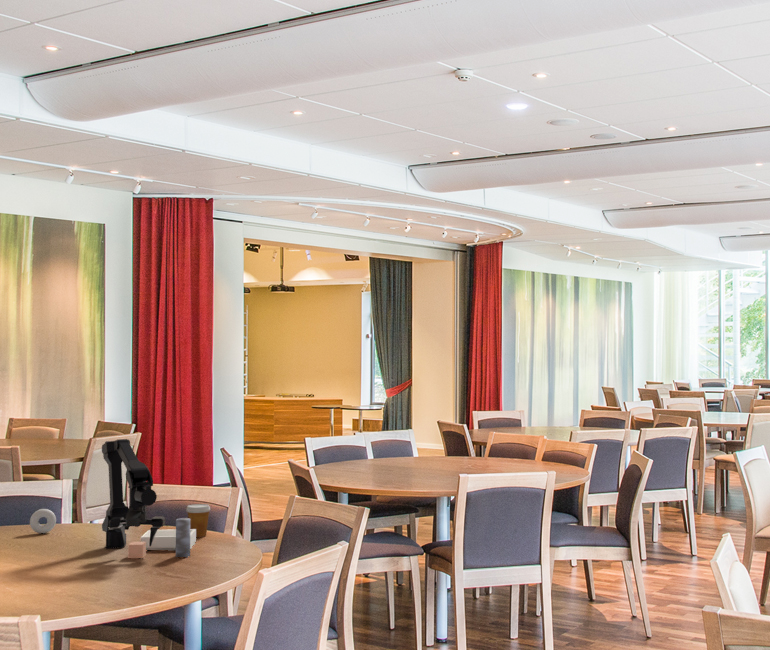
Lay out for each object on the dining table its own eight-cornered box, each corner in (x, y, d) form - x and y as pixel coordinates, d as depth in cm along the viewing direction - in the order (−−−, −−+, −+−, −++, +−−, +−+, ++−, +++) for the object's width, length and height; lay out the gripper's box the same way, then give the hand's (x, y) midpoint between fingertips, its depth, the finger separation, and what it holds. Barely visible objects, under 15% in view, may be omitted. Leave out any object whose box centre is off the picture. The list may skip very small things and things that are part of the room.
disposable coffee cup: (213, 533, 340) (213, 503, 341) (206, 538, 331) (206, 507, 331) (190, 533, 341) (190, 503, 342) (182, 538, 332) (182, 507, 332)
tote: (140, 551, 309) (140, 537, 309) (148, 543, 323) (148, 529, 323) (190, 550, 310) (190, 536, 310) (196, 542, 324) (196, 529, 324)
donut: (29, 535, 339) (29, 510, 339) (29, 533, 342) (29, 508, 343) (56, 533, 343) (56, 508, 343) (55, 531, 346) (56, 507, 346)
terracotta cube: (128, 559, 296) (128, 544, 297) (131, 555, 301) (131, 541, 302) (142, 558, 297) (142, 544, 297) (145, 555, 302) (145, 541, 302)
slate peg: (174, 557, 297) (174, 520, 298) (177, 554, 302) (177, 518, 303) (188, 557, 298) (189, 520, 298) (191, 554, 303) (191, 518, 303)
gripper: (105, 506, 291) (104, 552, 291) (159, 505, 293) (159, 550, 292) (113, 501, 302) (112, 545, 302) (165, 500, 304) (165, 544, 303)
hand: (137, 546), depth 299 cm, fingers open, 9 cm apart
